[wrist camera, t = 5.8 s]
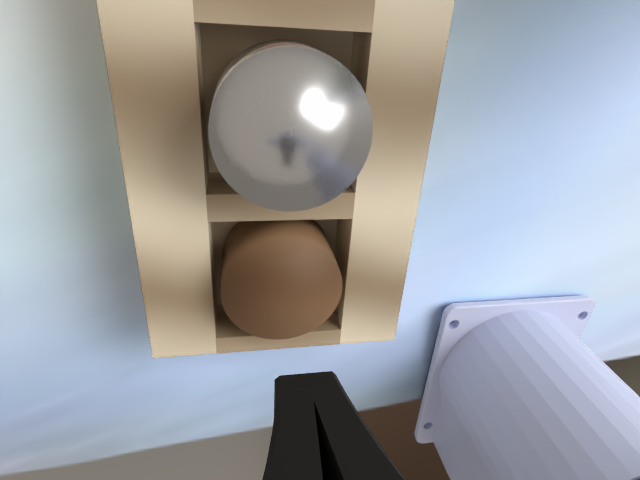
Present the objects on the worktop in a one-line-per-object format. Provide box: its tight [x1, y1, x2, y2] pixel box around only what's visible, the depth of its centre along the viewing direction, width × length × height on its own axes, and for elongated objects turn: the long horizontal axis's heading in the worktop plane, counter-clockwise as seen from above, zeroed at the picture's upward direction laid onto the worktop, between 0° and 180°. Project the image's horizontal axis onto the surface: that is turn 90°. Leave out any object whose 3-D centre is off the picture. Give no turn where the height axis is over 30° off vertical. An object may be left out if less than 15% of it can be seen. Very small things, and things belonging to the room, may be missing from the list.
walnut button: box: [221, 220, 342, 340], centre depth 15 cm, size 4×4×2 cm
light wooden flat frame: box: [96, 0, 455, 358], centre depth 14 cm, size 17×9×3 cm, turn 176°
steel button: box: [208, 39, 373, 212], centre depth 12 cm, size 4×4×2 cm
